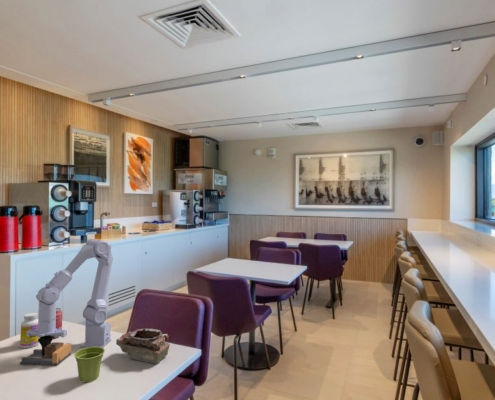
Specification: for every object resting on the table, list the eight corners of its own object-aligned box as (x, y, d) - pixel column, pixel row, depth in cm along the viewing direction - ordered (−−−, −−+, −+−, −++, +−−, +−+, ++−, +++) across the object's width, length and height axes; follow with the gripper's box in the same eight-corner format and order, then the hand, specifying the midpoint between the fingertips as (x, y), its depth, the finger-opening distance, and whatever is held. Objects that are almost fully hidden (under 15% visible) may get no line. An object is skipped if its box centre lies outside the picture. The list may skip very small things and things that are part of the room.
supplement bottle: (29, 349, 132) (30, 317, 132) (16, 347, 133) (16, 316, 134) (43, 342, 139) (43, 312, 139) (30, 341, 140) (30, 311, 140)
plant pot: (96, 368, 117) (96, 344, 118) (109, 377, 111) (109, 351, 112) (68, 378, 110) (69, 352, 110) (81, 388, 104) (81, 361, 104)
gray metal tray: (71, 354, 128) (71, 349, 128) (56, 365, 119) (57, 359, 119) (36, 353, 128) (36, 348, 128) (19, 364, 119) (19, 358, 119)
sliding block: (63, 354, 126) (63, 341, 126) (55, 359, 121) (56, 346, 121) (52, 354, 126) (52, 341, 126) (44, 359, 121) (44, 346, 121)
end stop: (71, 352, 128) (71, 343, 128) (57, 363, 119) (57, 353, 119) (66, 352, 128) (66, 343, 128) (52, 362, 119) (52, 353, 119)
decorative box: (148, 372, 115) (149, 345, 115) (107, 361, 123) (107, 335, 123) (171, 357, 127) (172, 332, 127) (132, 347, 135) (132, 324, 135)
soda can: (44, 335, 146) (45, 308, 147) (62, 332, 149) (63, 306, 150) (42, 341, 140) (42, 313, 140) (61, 338, 143) (61, 311, 143)
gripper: (20, 322, 120) (19, 359, 120) (59, 323, 120) (58, 360, 119) (34, 316, 127) (33, 350, 127) (70, 316, 127) (69, 352, 126)
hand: (46, 355), depth 123 cm, fingers closed
